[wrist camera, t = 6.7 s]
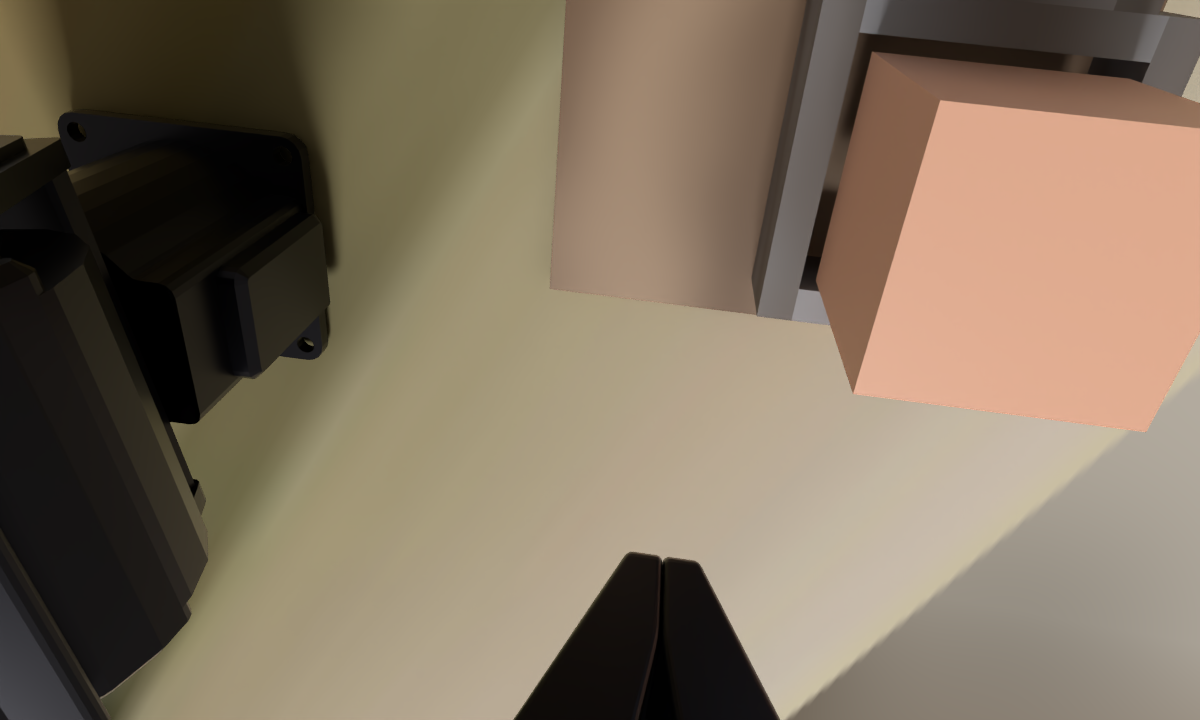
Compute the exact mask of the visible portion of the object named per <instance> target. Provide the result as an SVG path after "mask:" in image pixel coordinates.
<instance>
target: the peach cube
mask: <svg viewBox="0 0 1200 720" xmlns="http://www.w3.org/2000/svg"><path fill="white" fill-rule="evenodd" d="M816 283H817V286H818V289H819V292H820V295H821V298H822V301H823V304H824V307H825V310H826V313H827V316H828V319H829V322H830V325H831V328H832V331H833V334H834V337H835V340H836V343H837V346H838V349H839V352H840V355H841V359H842V362H843V365H844V368H845V371H846V374H847V377H848V380H849V383H850V386H851V389H852V392H853V394H858V395H866V396H873V397H881V398H889V399H896V400H904V401H912V402H919V403H927V404H935V405H942V406H950V407H958V408H965V409H973V410H981V411H988V412H996V413H1004V414H1011V415H1019V416H1027V417H1034V418H1042V419H1050V420H1057V421H1065V422H1073V423H1080V424H1088V425H1096V426H1103V427H1111V428H1119V429H1126V430H1134V431H1142V432H1146V431H1147V429H1148V427H1149V426H1150V424H1151V422H1152V420H1153V418H1154V416H1155V415H1156V413H1157V411H1158V409H1159V407H1160V405H1161V403H1162V402H1163V400H1164V398H1165V396H1166V394H1167V392H1168V391H1169V389H1170V387H1171V385H1172V383H1173V381H1174V379H1175V378H1176V376H1177V374H1178V372H1179V370H1180V368H1181V366H1182V365H1183V363H1184V361H1185V359H1186V357H1187V355H1188V354H1189V352H1190V350H1191V348H1192V346H1193V344H1194V342H1195V341H1196V339H1197V337H1198V335H1199V333H1200V103H1197V102H1195V101H1192V100H1189V99H1186V98H1183V97H1180V96H1177V95H1175V94H1172V93H1169V92H1166V91H1163V90H1160V89H1157V88H1155V87H1152V86H1149V85H1146V84H1143V83H1140V82H1138V81H1135V80H1132V79H1128V78H1118V77H1109V76H1099V75H1090V74H1080V73H1071V72H1061V71H1052V70H1042V69H1033V68H1023V67H1014V66H1005V65H995V64H986V63H976V62H967V61H957V60H948V59H938V58H929V57H919V56H910V55H900V54H891V53H881V52H872V54H871V58H870V62H869V66H868V70H867V74H866V78H865V82H864V86H863V91H862V95H861V99H860V103H859V107H858V111H857V115H856V119H855V123H854V127H853V131H852V135H851V139H850V143H849V147H848V151H847V156H846V160H845V164H844V168H843V172H842V176H841V180H840V184H839V188H838V192H837V196H836V200H835V204H834V208H833V212H832V216H831V220H830V225H829V229H828V233H827V237H826V241H825V245H824V249H823V253H822V257H821V261H820V265H819V269H818V273H817V277H816Z"/></svg>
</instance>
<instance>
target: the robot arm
mask: <svg viewBox="0 0 1200 720" xmlns="http://www.w3.org/2000/svg"><path fill="white" fill-rule="evenodd" d="M78 123H79V124H80V125H81V126H82V127H83V128H84V130H85V132H86V137H85V136H84V135H83V134H81V133H80V131H79V129H78ZM58 131H59V134H60V138H61V139H60V138H33V139H23V137H22V136H17V135H0V720H111V717H110V715H109V713H108V712H107V710H106V708H105V706H104V705H103V703H102V701H101V700H100V699H102V698H103V697H105V696H106V695H108V694H110V693H111V692H113V691H114V690H115V689H116V688H117V687H119V686H120V685H121V684H122V683H124V682H125V681H126V680H127V679H129V678H130V677H131V676H132V675H133V674H135V673H136V672H137V671H138V670H140V669H141V668H142V667H143V666H144V665H146V664H147V663H148V662H149V661H151V660H152V659H153V658H154V657H155V656H157V655H158V654H159V653H160V652H161V651H162V650H163V649H164V647H165V646H166V645H167V644H168V643H169V642H170V641H171V640H172V638H173V637H174V636H175V635H176V634H177V633H178V632H179V631H180V629H181V628H182V627H183V626H184V625H185V624H186V623H187V622H188V620H189V618H190V616H191V608H190V606H189V603H188V600H189V599H190V597H191V596H192V594H193V592H194V590H195V587H196V585H197V583H198V581H199V579H200V576H201V574H202V572H203V570H204V567H205V565H206V563H207V561H208V537H207V529H206V527H205V524H204V522H203V519H202V517H201V515H202V511H203V508H204V505H205V502H206V498H205V495H204V493H203V491H202V488H201V486H200V483H199V481H198V480H195V479H193V478H192V476H191V474H190V471H189V469H188V466H187V464H186V461H185V459H184V456H183V454H182V452H181V449H180V447H179V444H178V442H177V439H176V437H175V434H174V432H173V429H172V427H171V425H170V422H177V423H184V424H196V423H197V422H198V421H199V420H200V419H201V418H202V417H203V416H204V415H205V414H206V413H208V412H209V411H210V410H211V409H212V408H213V407H214V406H215V405H216V404H217V403H218V402H219V401H220V400H221V399H222V398H223V397H224V396H225V395H226V394H227V393H228V392H229V391H230V390H231V389H232V388H233V387H234V386H235V385H236V384H237V383H238V382H239V381H240V380H241V379H242V378H250V379H255V378H257V377H258V376H259V375H260V374H262V373H263V372H264V371H265V370H266V369H267V368H268V367H269V366H270V365H271V364H272V363H273V362H274V361H275V360H276V359H277V358H278V357H279V356H283V357H291V358H298V359H306V360H311V359H315V358H317V357H319V356H320V355H321V354H322V352H323V351H324V350H325V349H326V347H327V345H328V336H327V326H326V317H325V309H326V308H327V307H328V306H329V304H330V297H329V287H328V277H327V267H326V258H325V248H324V238H323V228H322V223H321V222H320V220H319V219H318V218H317V216H316V215H315V213H314V204H313V195H312V185H311V176H310V166H309V157H308V152H307V149H306V146H305V145H304V143H303V142H302V141H301V140H300V139H299V138H298V137H296V136H295V135H292V134H289V133H284V132H276V131H267V130H258V129H250V128H241V127H233V126H224V125H215V124H207V123H198V122H190V121H181V120H173V119H164V118H155V117H147V116H138V115H130V114H121V113H112V112H104V111H95V110H87V109H78V110H73V111H70V112H66V113H64V114H63V115H61V116H60V118H59V120H58ZM281 146H282V147H285V148H287V149H288V150H289V152H290V153H291V156H292V162H289V161H286V160H285V159H284V158H283V157H282V156H281V153H280V147H281ZM67 169H69V171H68V172H67ZM303 337H306V338H309V339H310V340H311V341H312V342H313V344H314V346H311V345H308V344H307V343H306V342H305V341H304V338H303ZM514 720H780V718H779V716H778V715H777V713H776V711H775V709H774V707H773V705H772V703H771V701H770V699H769V697H768V695H767V693H766V691H765V689H764V687H763V685H762V683H761V682H760V680H759V678H758V676H757V674H756V672H755V670H754V668H753V666H752V664H751V662H750V660H749V658H748V656H747V654H746V652H745V650H744V649H743V647H742V645H741V643H740V641H739V639H738V637H737V635H736V633H735V631H734V629H733V627H732V625H731V623H730V621H729V619H728V617H727V616H726V614H725V612H724V610H723V608H722V606H721V604H720V602H719V600H718V598H717V596H716V594H715V592H714V590H713V588H712V586H711V584H710V583H709V581H708V579H707V577H706V575H705V573H704V571H703V569H702V567H701V566H700V564H699V563H697V562H696V561H692V560H686V559H679V558H672V557H667V558H665V559H664V560H663V563H662V559H661V558H660V557H659V556H657V555H651V554H644V553H637V552H629V553H627V554H626V555H625V556H624V558H623V559H622V560H621V562H620V563H619V565H618V566H617V568H616V569H615V571H614V572H613V574H612V575H611V577H610V578H609V580H608V581H607V583H606V584H605V586H604V587H603V589H602V590H601V591H600V593H599V594H598V596H597V597H596V599H595V600H594V602H593V603H592V605H591V606H590V608H589V609H588V611H587V612H586V614H585V615H584V617H583V618H582V619H581V621H580V622H579V624H578V625H577V627H576V628H575V630H574V631H573V633H572V634H571V636H570V637H569V639H568V640H567V642H566V643H565V645H564V646H563V648H562V649H561V650H560V652H559V653H558V655H557V656H556V658H555V659H554V661H553V662H552V664H551V665H550V667H549V668H548V670H547V671H546V673H545V674H544V676H543V677H542V678H541V680H540V681H539V683H538V684H537V686H536V687H535V689H534V690H533V692H532V693H531V695H530V696H529V698H528V699H527V701H526V702H525V704H524V705H523V706H522V708H521V709H520V711H519V712H518V714H517V715H516V717H515V718H514Z"/></svg>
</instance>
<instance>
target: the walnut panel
mask: <svg viewBox="0 0 1200 720" xmlns="http://www.w3.org/2000/svg"><path fill="white" fill-rule="evenodd" d="M1166 2H1167V0H566V13H565V30H564V48H563V65H562V83H561V101H560V118H559V136H558V153H557V171H556V189H555V206H554V224H553V241H552V259H551V276H550V289H555V290H563V291H571V292H579V293H587V294H595V295H603V296H611V297H619V298H626V299H634V300H642V301H650V302H658V303H666V304H674V305H682V306H690V307H698V308H706V309H714V310H722V311H730V312H738V313H746V314H754V315H757V316H759V317H767V318H775V319H783V320H791V321H799V322H807V323H815V324H823V325H830V322H829V319H828V316H827V313H826V310H825V307H824V304H823V301H822V298H821V295H820V292H819V289H818V286H817V283H816V277H817V273H818V269H819V265H820V261H821V257H822V253H823V249H824V245H825V241H826V237H827V233H828V229H829V225H830V220H831V216H832V212H833V208H834V204H835V200H836V196H837V192H838V188H839V184H840V180H841V176H842V172H843V168H844V164H845V160H846V156H847V151H848V147H849V143H850V139H851V135H852V131H853V127H854V123H855V119H856V115H857V111H858V107H859V103H860V99H861V95H862V91H863V86H864V82H865V78H866V74H867V70H868V66H869V62H870V58H871V54H872V52H881V53H891V54H900V55H910V56H919V57H929V58H938V59H948V60H957V61H967V62H976V63H986V64H995V65H1005V66H1014V67H1023V68H1033V69H1042V70H1052V71H1061V72H1071V73H1080V74H1090V75H1099V76H1109V77H1118V78H1128V79H1132V80H1135V81H1138V82H1140V83H1143V84H1146V85H1149V86H1152V87H1155V88H1157V89H1160V90H1163V91H1166V92H1169V93H1172V94H1175V95H1177V96H1180V97H1181V96H1182V94H1183V92H1184V90H1185V87H1186V85H1187V83H1188V81H1189V79H1190V76H1191V74H1192V72H1193V70H1194V67H1195V65H1196V63H1197V61H1198V58H1199V56H1200V18H1196V17H1191V16H1185V15H1180V14H1174V13H1169V12H1163V10H1164V7H1165V5H1166Z"/></svg>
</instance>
